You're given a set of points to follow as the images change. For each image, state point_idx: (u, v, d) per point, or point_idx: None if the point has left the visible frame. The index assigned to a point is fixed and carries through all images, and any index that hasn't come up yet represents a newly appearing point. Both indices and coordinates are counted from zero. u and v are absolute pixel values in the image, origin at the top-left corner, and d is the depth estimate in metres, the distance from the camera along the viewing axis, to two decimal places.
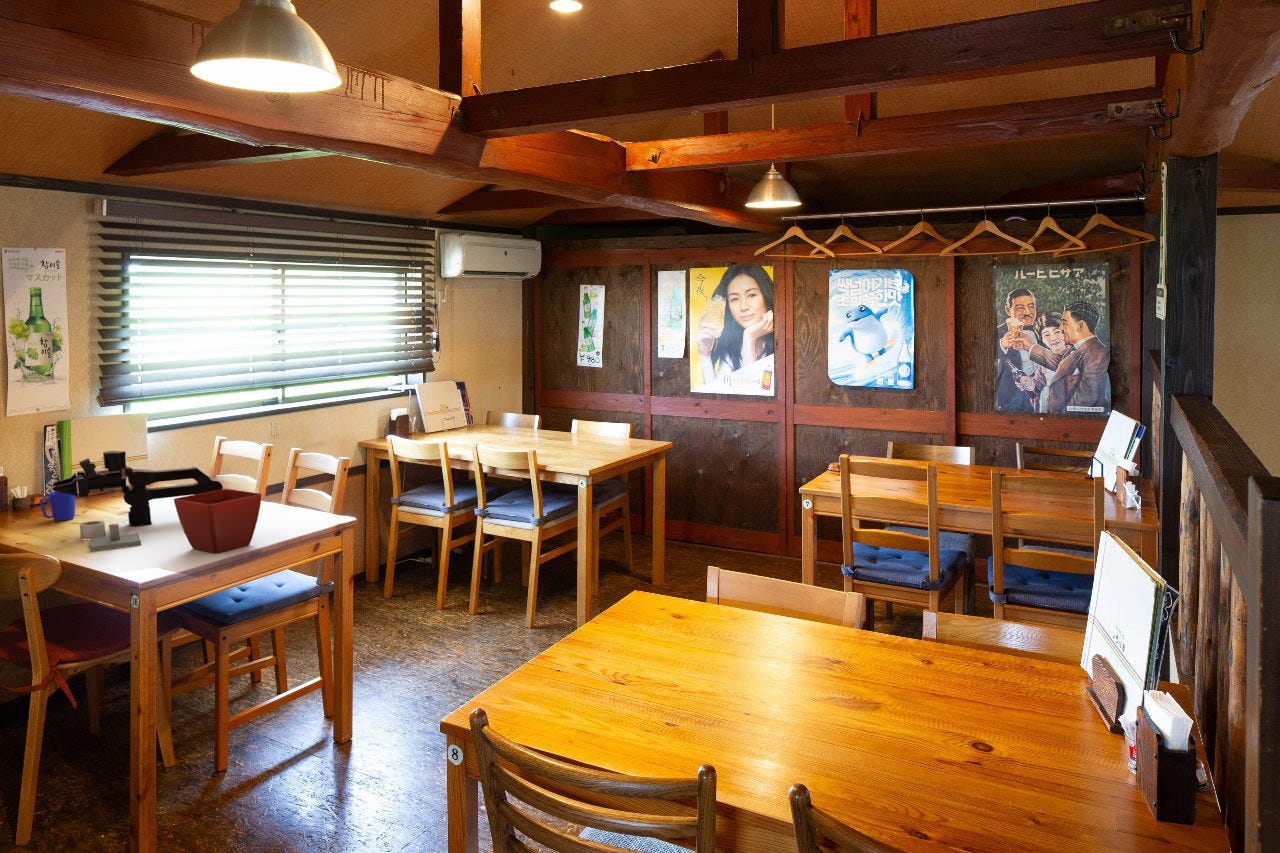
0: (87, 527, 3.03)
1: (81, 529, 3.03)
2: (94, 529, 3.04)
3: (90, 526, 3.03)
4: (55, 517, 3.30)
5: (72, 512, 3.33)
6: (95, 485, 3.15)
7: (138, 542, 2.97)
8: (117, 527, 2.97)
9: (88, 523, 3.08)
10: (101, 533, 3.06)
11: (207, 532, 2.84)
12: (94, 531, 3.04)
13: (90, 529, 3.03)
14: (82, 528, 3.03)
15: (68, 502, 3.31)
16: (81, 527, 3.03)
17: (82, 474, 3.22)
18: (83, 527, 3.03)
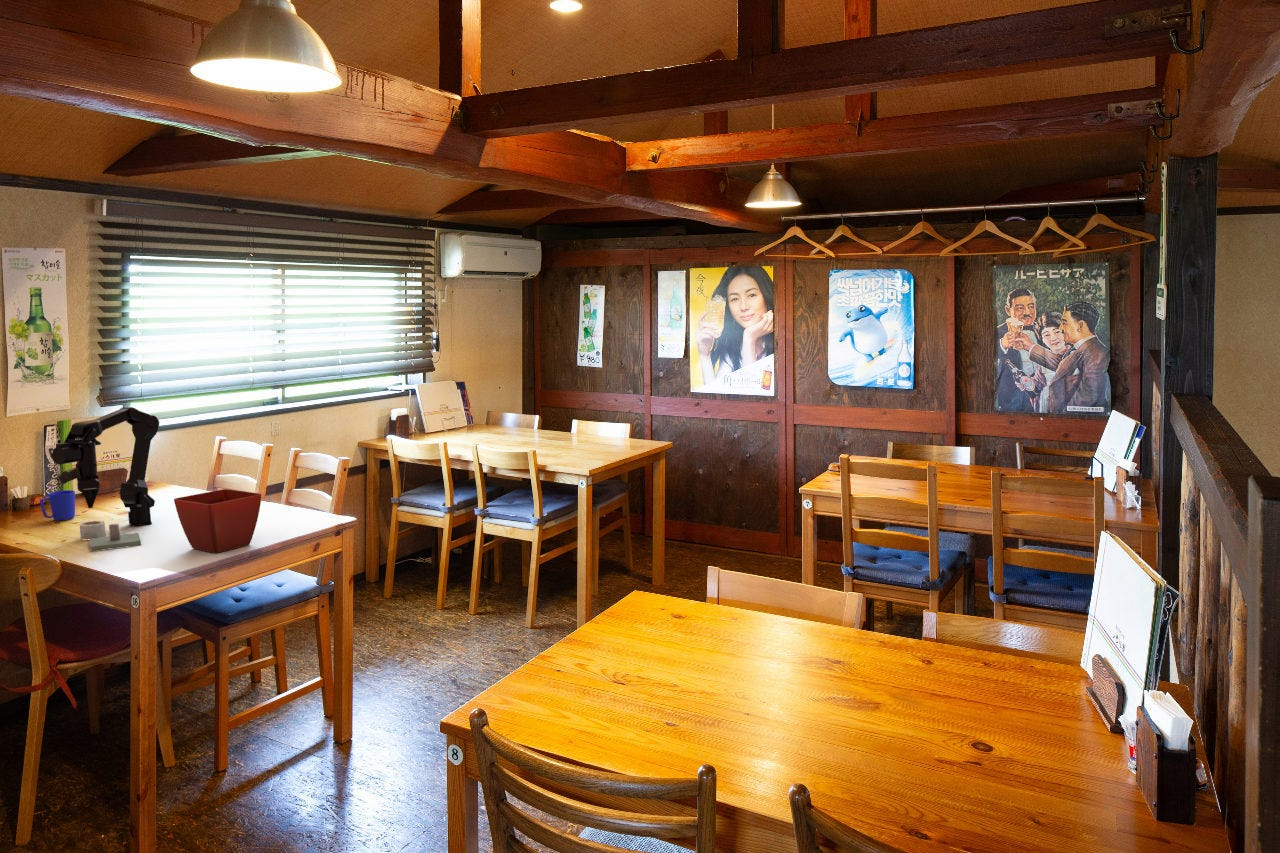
0: (87, 527, 3.03)
1: (81, 529, 3.03)
2: (94, 529, 3.04)
3: (90, 526, 3.03)
4: (55, 517, 3.30)
5: (72, 512, 3.33)
6: (89, 470, 3.02)
7: (138, 542, 2.97)
8: (117, 527, 2.97)
9: (88, 523, 3.08)
10: (101, 533, 3.06)
11: (207, 532, 2.84)
12: (94, 531, 3.04)
13: (90, 529, 3.03)
14: (82, 528, 3.03)
15: (68, 502, 3.31)
16: (81, 527, 3.03)
17: None
18: (83, 527, 3.03)
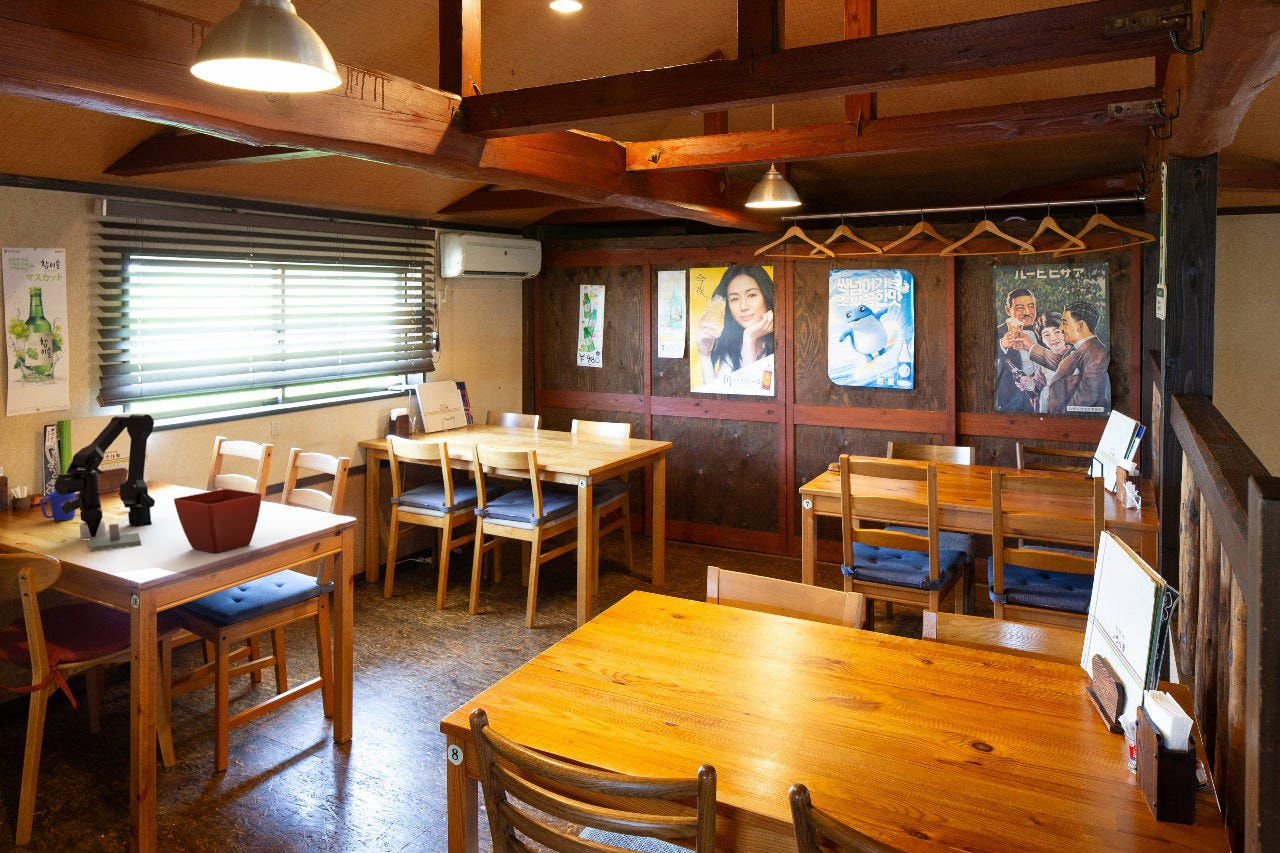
0: (87, 527, 3.03)
1: (81, 529, 3.03)
2: None
3: None
4: (55, 517, 3.30)
5: (72, 512, 3.33)
6: (92, 499, 3.03)
7: (138, 542, 2.97)
8: (117, 527, 2.97)
9: None
10: (101, 533, 3.06)
11: (207, 532, 2.84)
12: None
13: None
14: (82, 528, 3.03)
15: None
16: (81, 527, 3.03)
17: None
18: (83, 527, 3.03)
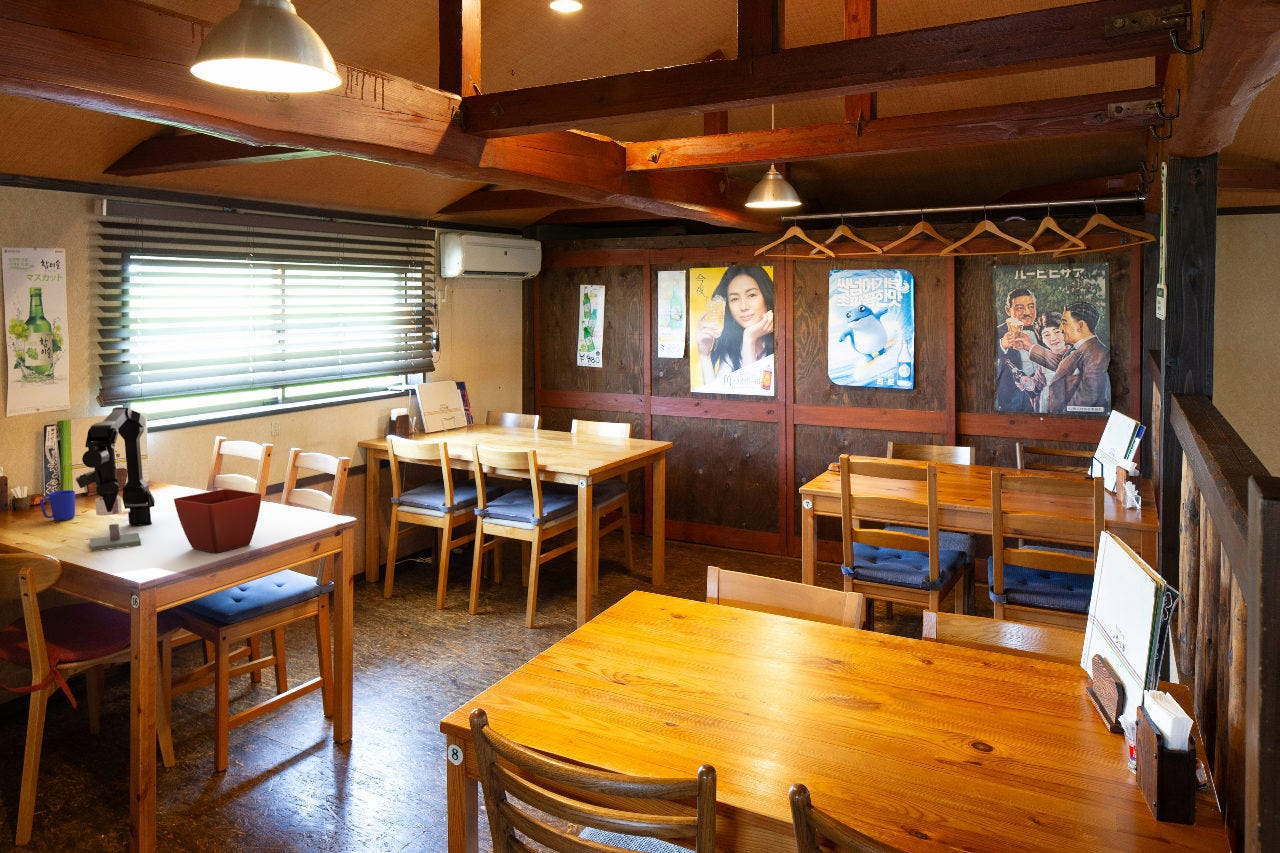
0: (103, 502, 2.94)
1: (97, 504, 2.94)
2: None
3: None
4: (55, 517, 3.30)
5: (72, 512, 3.33)
6: (108, 473, 2.94)
7: (138, 542, 2.97)
8: (117, 527, 2.97)
9: None
10: (117, 508, 2.96)
11: (207, 532, 2.84)
12: None
13: None
14: (97, 503, 2.94)
15: (68, 502, 3.31)
16: (97, 502, 2.94)
17: None
18: (99, 502, 2.94)
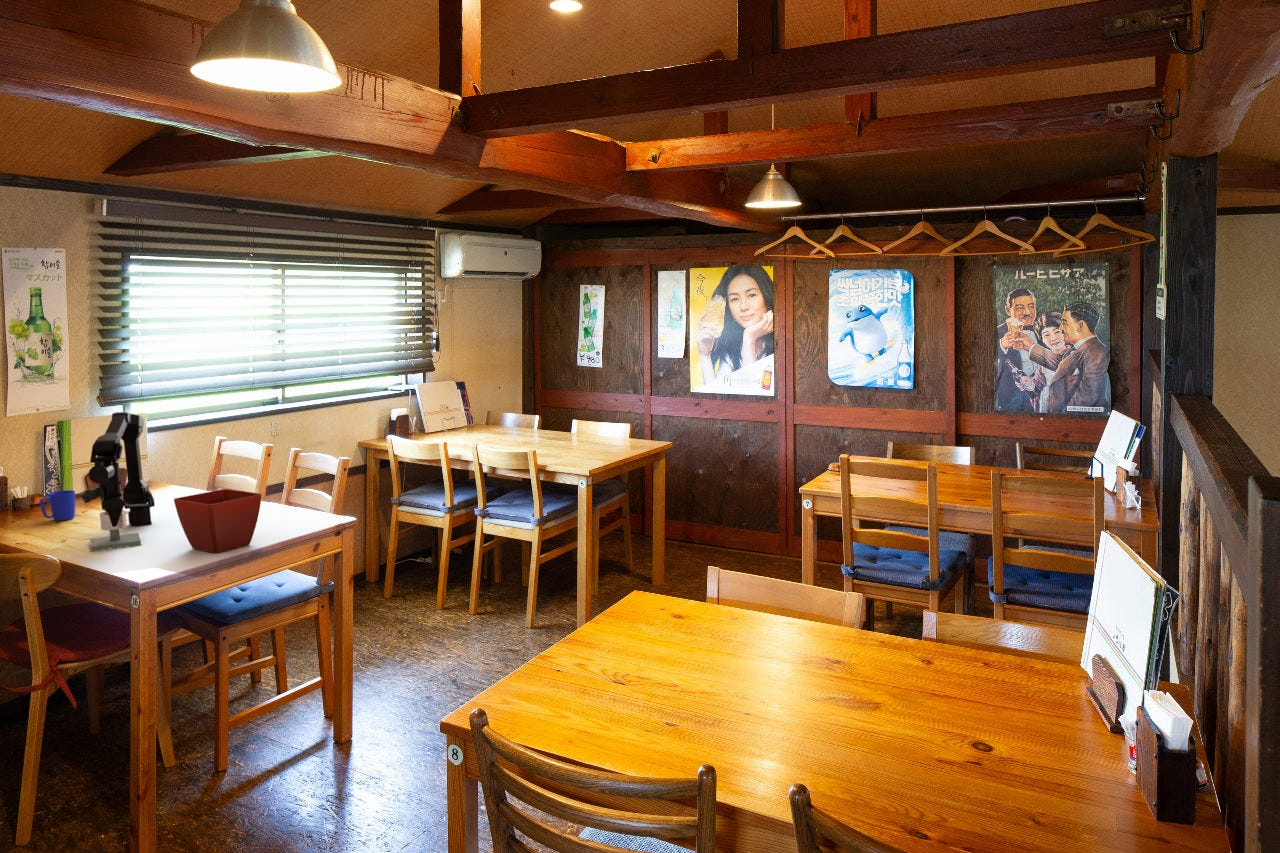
0: (108, 516, 2.94)
1: (101, 518, 2.94)
2: None
3: None
4: (55, 517, 3.30)
5: (72, 512, 3.33)
6: (113, 488, 2.94)
7: (138, 542, 2.97)
8: None
9: None
10: (122, 523, 2.96)
11: (207, 532, 2.84)
12: None
13: None
14: (102, 518, 2.94)
15: (68, 502, 3.31)
16: (101, 516, 2.94)
17: None
18: (104, 516, 2.94)
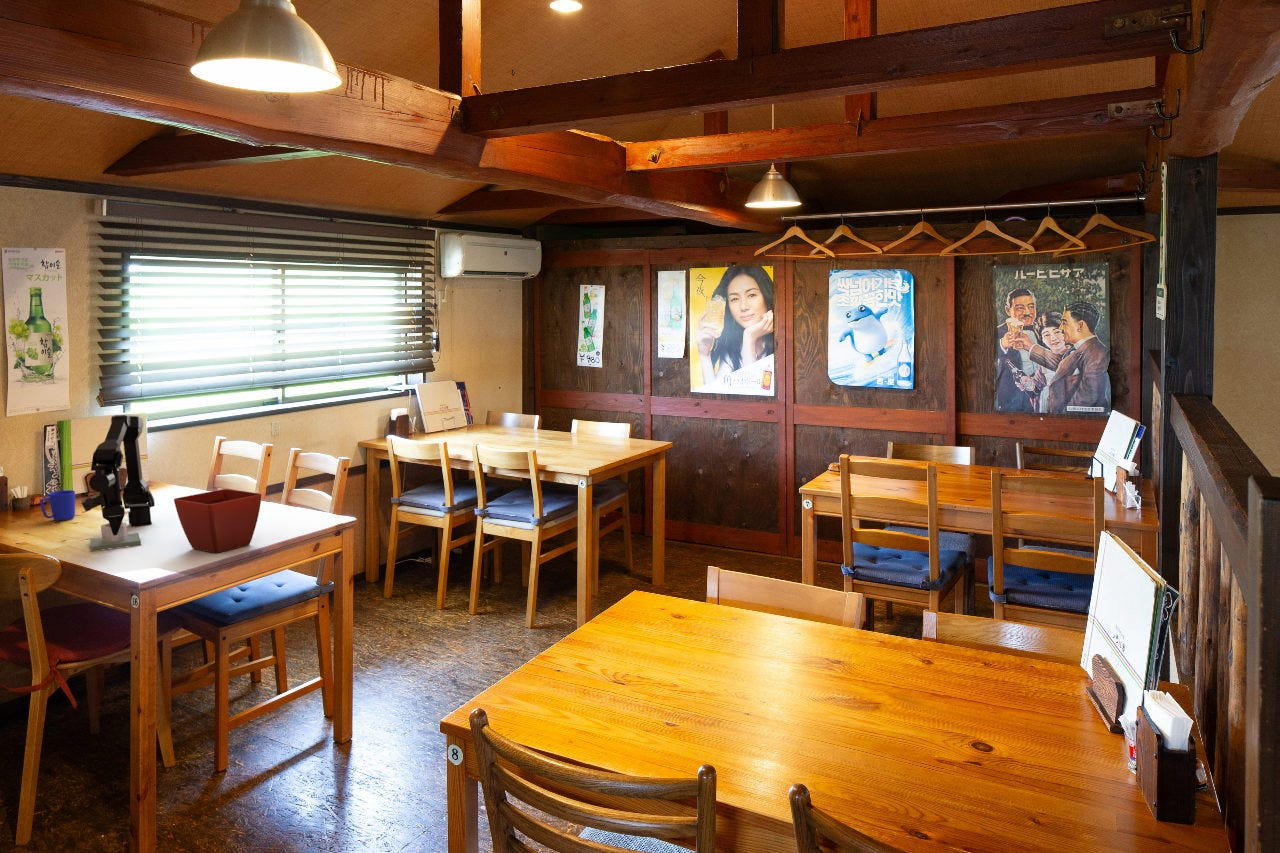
0: (109, 529, 2.94)
1: (103, 531, 2.95)
2: None
3: None
4: (55, 517, 3.30)
5: (72, 512, 3.33)
6: (114, 496, 2.94)
7: (138, 542, 2.97)
8: None
9: None
10: (123, 535, 2.97)
11: (207, 532, 2.84)
12: None
13: None
14: (103, 530, 2.94)
15: (68, 502, 3.31)
16: (103, 529, 2.95)
17: None
18: (105, 529, 2.94)
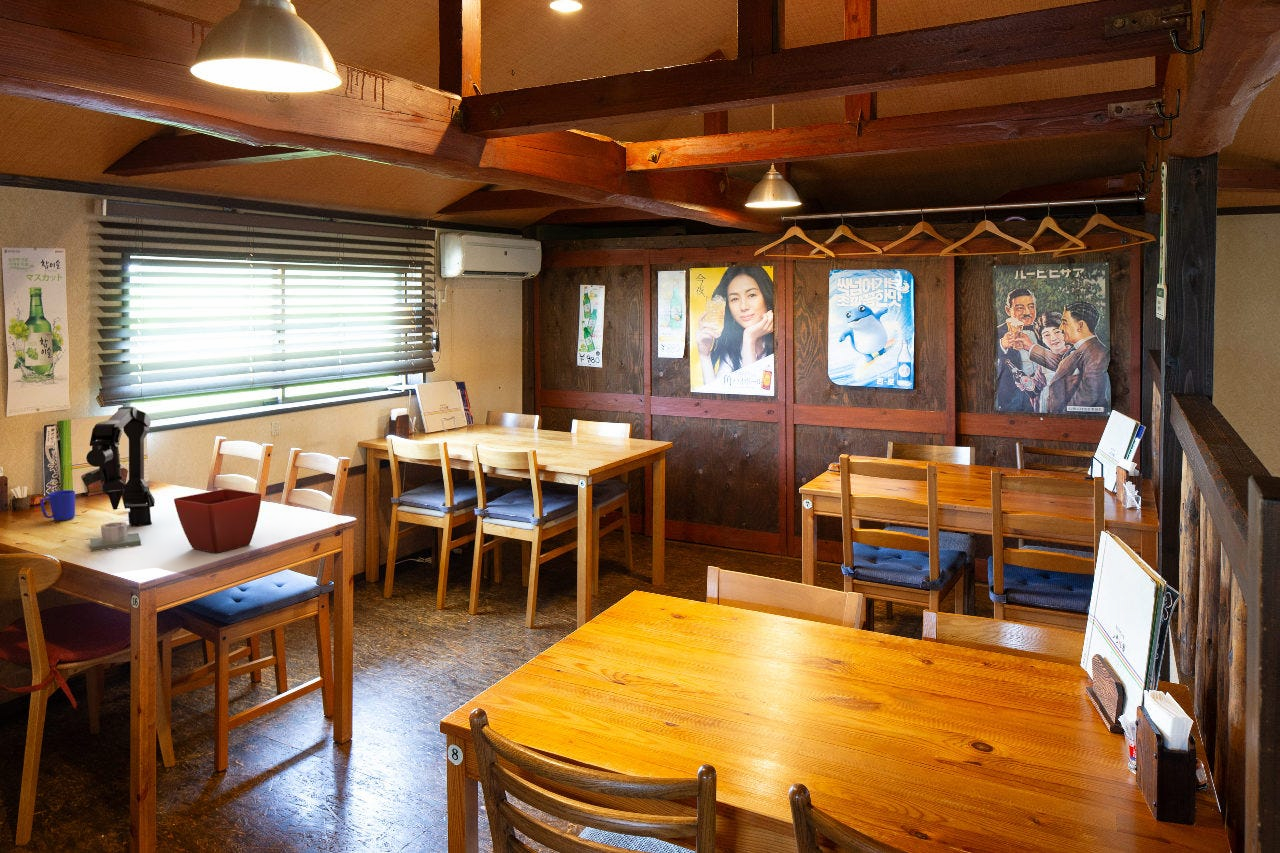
0: (109, 529, 2.94)
1: (103, 531, 2.95)
2: (116, 531, 2.95)
3: (112, 528, 2.94)
4: (55, 517, 3.30)
5: (72, 512, 3.33)
6: (113, 471, 3.00)
7: (138, 542, 2.97)
8: None
9: None
10: (123, 535, 2.97)
11: (207, 532, 2.84)
12: (116, 533, 2.95)
13: (112, 531, 2.94)
14: (103, 530, 2.94)
15: (68, 502, 3.31)
16: (103, 529, 2.95)
17: None
18: (105, 529, 2.94)
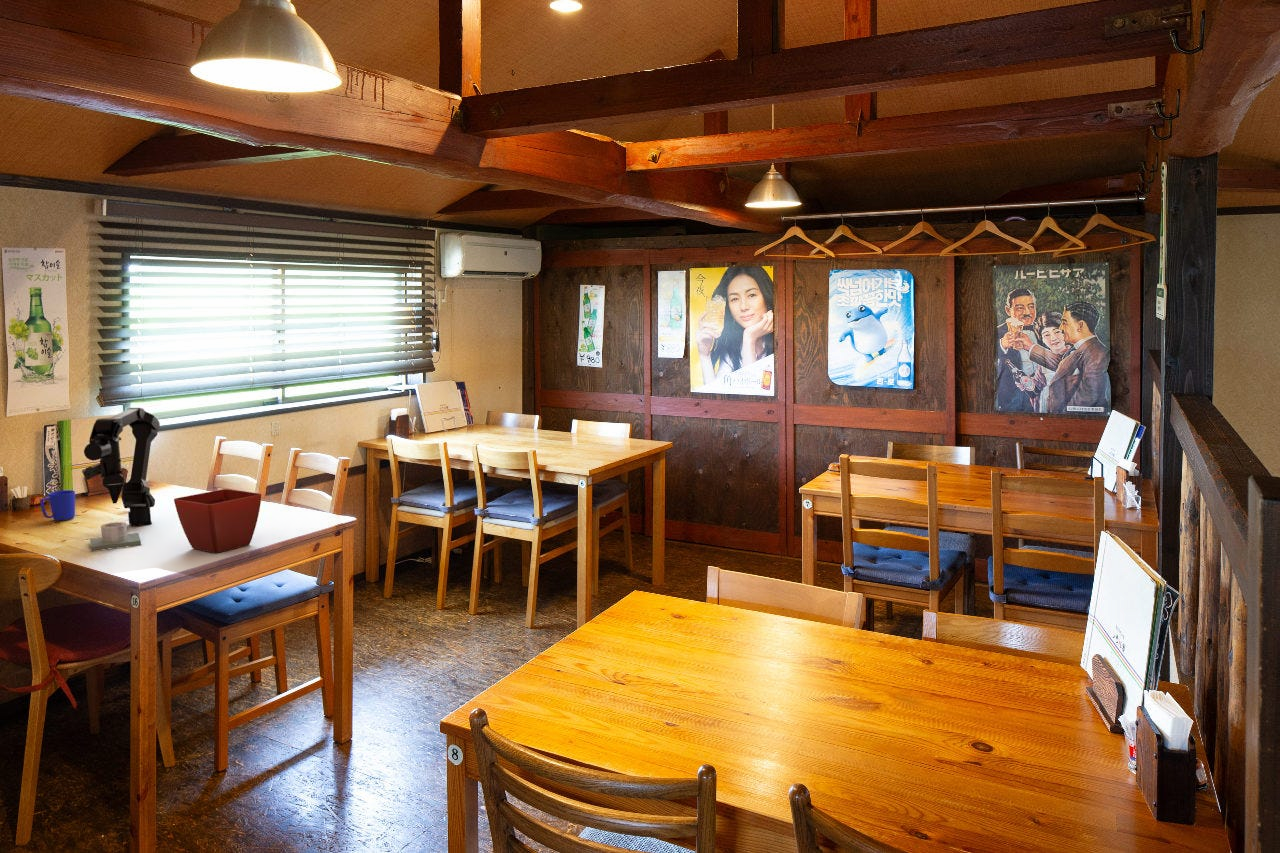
0: (109, 529, 2.94)
1: (103, 531, 2.95)
2: (116, 531, 2.95)
3: (112, 528, 2.94)
4: (55, 517, 3.30)
5: (72, 512, 3.33)
6: (113, 465, 3.05)
7: (138, 542, 2.97)
8: None
9: None
10: (123, 535, 2.97)
11: (207, 532, 2.84)
12: (116, 533, 2.95)
13: (112, 531, 2.94)
14: (103, 530, 2.94)
15: (68, 502, 3.31)
16: (103, 529, 2.95)
17: None
18: (105, 529, 2.94)
